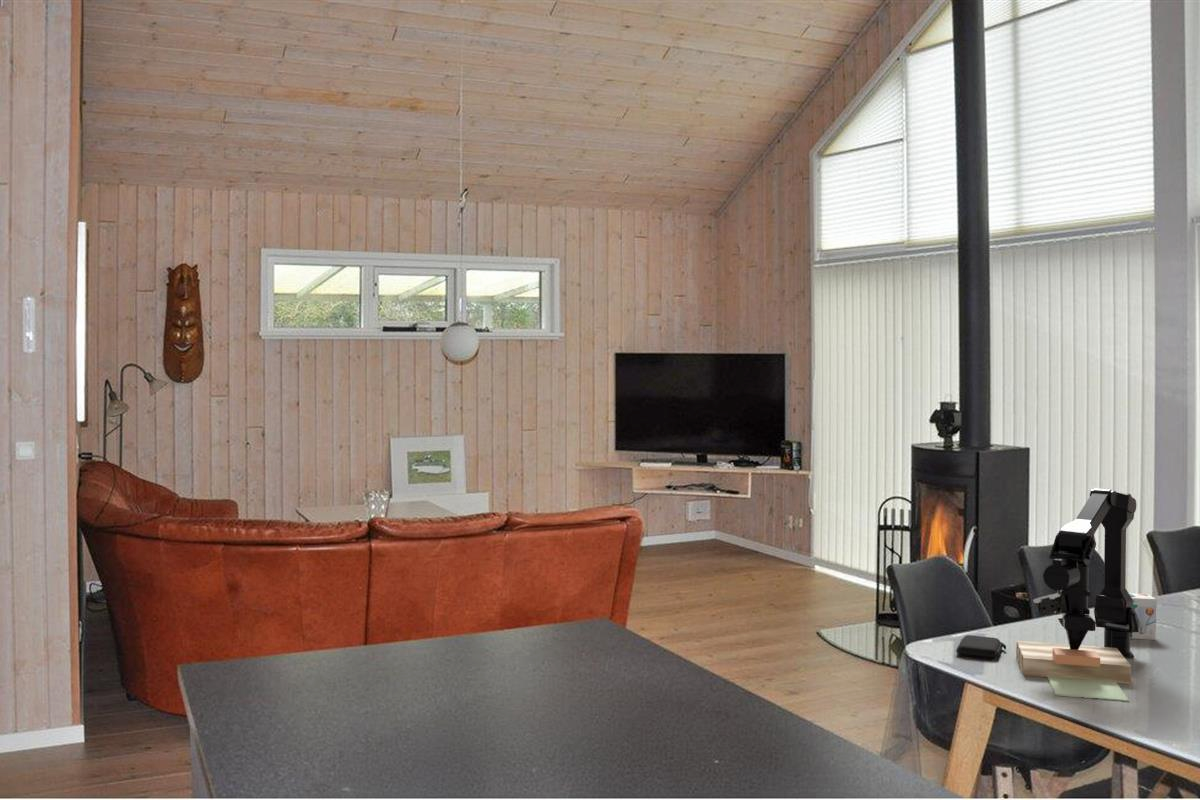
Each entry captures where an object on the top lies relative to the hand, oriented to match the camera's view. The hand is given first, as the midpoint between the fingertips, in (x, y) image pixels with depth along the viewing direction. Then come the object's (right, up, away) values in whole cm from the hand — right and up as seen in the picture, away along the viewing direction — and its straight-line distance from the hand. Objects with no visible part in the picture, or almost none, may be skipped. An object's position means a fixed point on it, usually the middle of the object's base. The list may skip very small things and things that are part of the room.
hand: (1073, 653), depth 232 cm
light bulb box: (+32, -5, +36) cm, 49 cm away
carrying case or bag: (-14, -5, +19) cm, 24 cm away
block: (-1, -1, -4) cm, 4 cm away
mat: (-2, -5, -11) cm, 12 cm away
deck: (+1, -5, +4) cm, 6 cm away
